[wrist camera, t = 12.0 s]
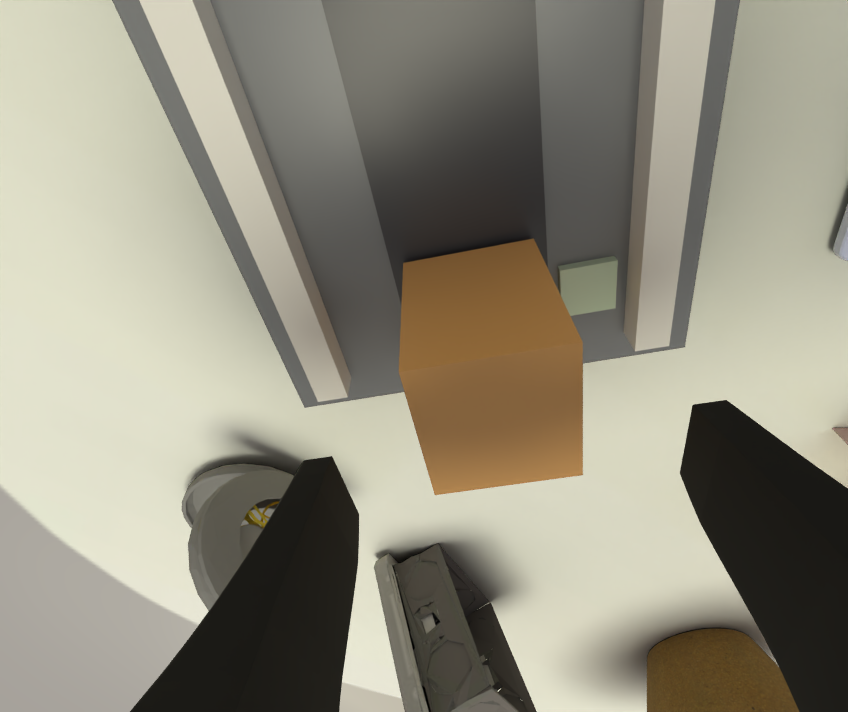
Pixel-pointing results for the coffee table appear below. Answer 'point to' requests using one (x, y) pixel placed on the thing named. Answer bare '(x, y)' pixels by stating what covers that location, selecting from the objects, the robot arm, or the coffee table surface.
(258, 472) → the pocket watch
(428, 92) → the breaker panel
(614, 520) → the coffee table surface
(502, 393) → the block
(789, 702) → the plant pot
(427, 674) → the electrical switch
